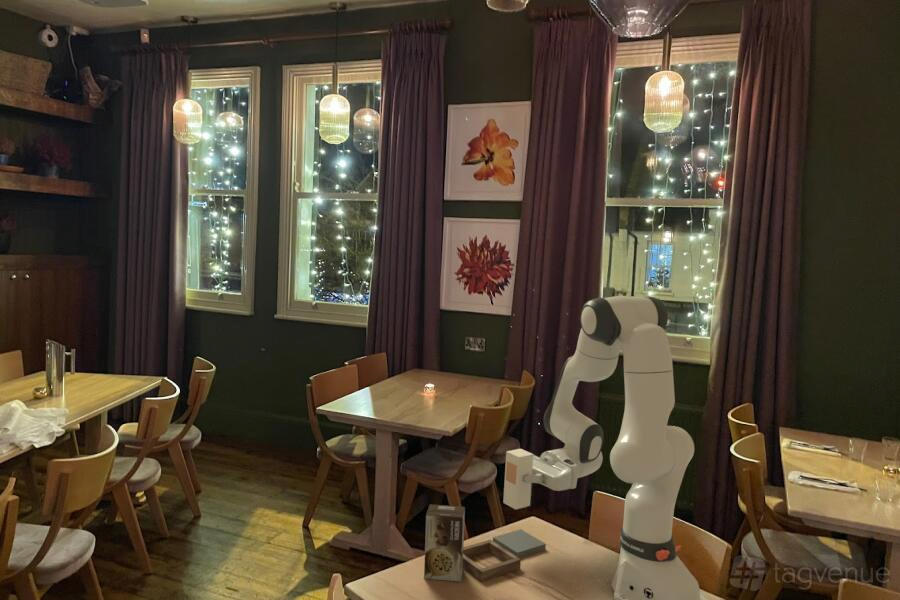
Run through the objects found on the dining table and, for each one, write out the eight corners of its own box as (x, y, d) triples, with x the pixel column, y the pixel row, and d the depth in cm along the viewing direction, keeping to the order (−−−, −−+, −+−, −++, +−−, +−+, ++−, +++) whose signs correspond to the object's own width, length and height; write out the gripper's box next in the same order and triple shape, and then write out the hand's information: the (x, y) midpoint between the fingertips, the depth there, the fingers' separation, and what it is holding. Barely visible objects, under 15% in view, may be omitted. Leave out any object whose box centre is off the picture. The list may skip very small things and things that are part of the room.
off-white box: (530, 505, 173) (533, 454, 171) (515, 509, 170) (518, 457, 168) (517, 498, 177) (520, 448, 175) (502, 502, 174) (505, 451, 172)
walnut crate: (520, 568, 164) (520, 559, 163) (481, 581, 156) (482, 571, 156) (489, 548, 173) (490, 539, 173) (452, 559, 166) (452, 550, 166)
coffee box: (462, 569, 162) (466, 506, 160) (460, 582, 156) (464, 517, 154) (426, 565, 163) (429, 503, 161) (422, 578, 157) (425, 513, 155)
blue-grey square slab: (545, 549, 175) (545, 543, 175) (516, 558, 169) (517, 552, 169) (520, 534, 183) (520, 529, 183) (492, 542, 177) (492, 537, 177)
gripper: (529, 444, 188) (491, 451, 180) (582, 467, 172) (543, 476, 163) (527, 465, 189) (490, 474, 181) (580, 490, 172) (541, 500, 164)
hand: (516, 475), depth 172 cm, fingers closed on off-white box, 5 cm apart
